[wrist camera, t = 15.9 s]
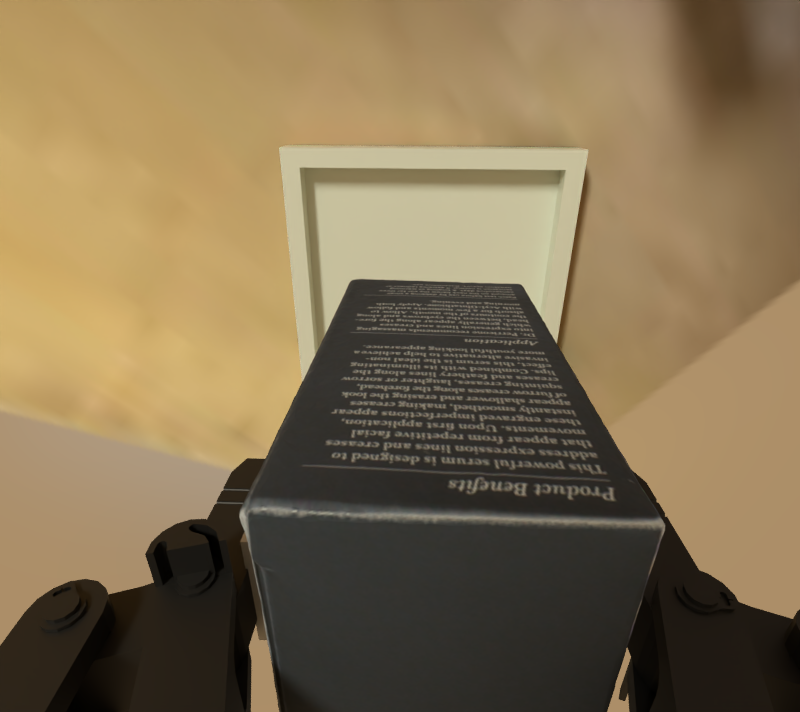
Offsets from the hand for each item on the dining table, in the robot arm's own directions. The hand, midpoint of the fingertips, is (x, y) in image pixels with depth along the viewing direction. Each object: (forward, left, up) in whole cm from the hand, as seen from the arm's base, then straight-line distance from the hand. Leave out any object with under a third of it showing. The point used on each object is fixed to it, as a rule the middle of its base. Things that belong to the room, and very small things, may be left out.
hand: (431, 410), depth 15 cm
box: (0, 0, -3) cm, 3 cm away
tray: (0, 0, -11) cm, 11 cm away
